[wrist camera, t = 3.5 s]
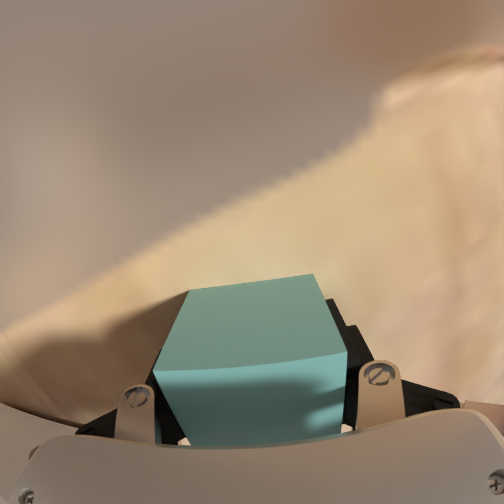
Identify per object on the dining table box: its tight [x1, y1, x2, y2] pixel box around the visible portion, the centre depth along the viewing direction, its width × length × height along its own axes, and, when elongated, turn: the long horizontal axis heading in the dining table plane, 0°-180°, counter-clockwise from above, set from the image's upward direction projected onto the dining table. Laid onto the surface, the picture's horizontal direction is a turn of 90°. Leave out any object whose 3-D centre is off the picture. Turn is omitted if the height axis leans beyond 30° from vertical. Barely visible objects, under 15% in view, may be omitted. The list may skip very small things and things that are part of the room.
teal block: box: [153, 274, 347, 446], centre depth 10 cm, size 5×5×5 cm
